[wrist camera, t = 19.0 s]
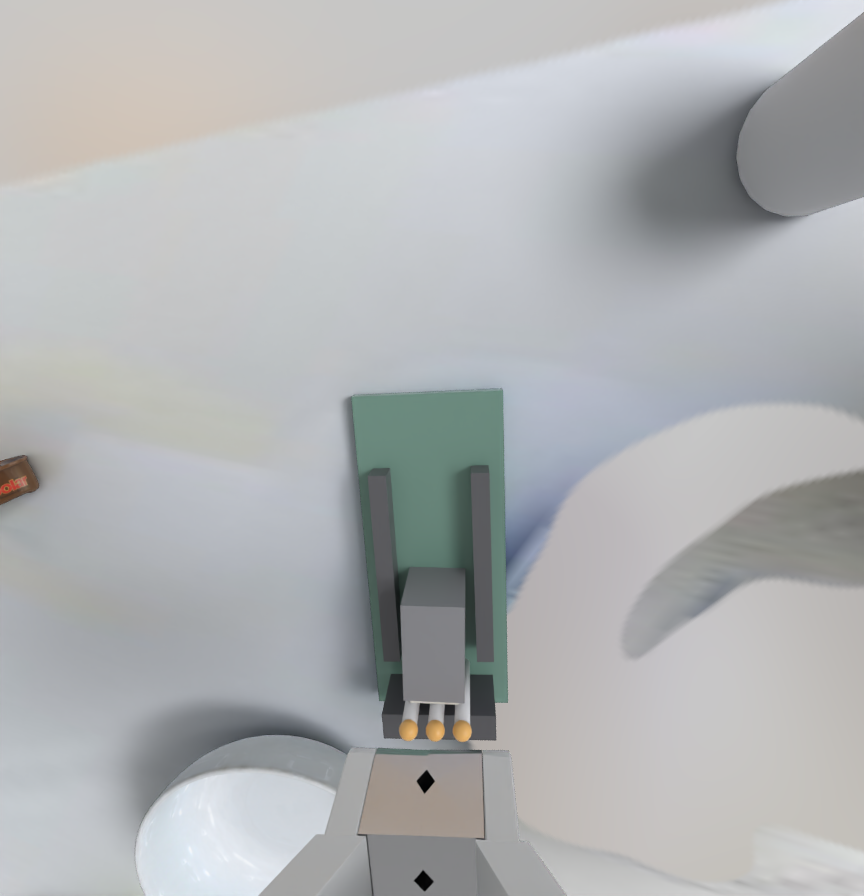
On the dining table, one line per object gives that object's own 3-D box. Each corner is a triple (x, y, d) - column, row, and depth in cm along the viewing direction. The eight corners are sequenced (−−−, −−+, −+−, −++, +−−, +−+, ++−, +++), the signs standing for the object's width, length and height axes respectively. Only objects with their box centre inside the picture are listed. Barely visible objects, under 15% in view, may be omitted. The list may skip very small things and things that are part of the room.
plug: (465, 568, 34) (465, 607, 30) (465, 657, 36) (464, 708, 31) (409, 566, 35) (400, 605, 30) (412, 655, 36) (403, 705, 32)
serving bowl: (253, 905, 46) (216, 1003, 39) (143, 733, 42) (81, 810, 35) (456, 857, 42) (453, 956, 36) (358, 665, 38) (335, 736, 32)
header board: (501, 388, 32) (512, 407, 24) (506, 693, 38) (516, 785, 30) (354, 394, 33) (320, 415, 25) (381, 691, 39) (360, 781, 31)
